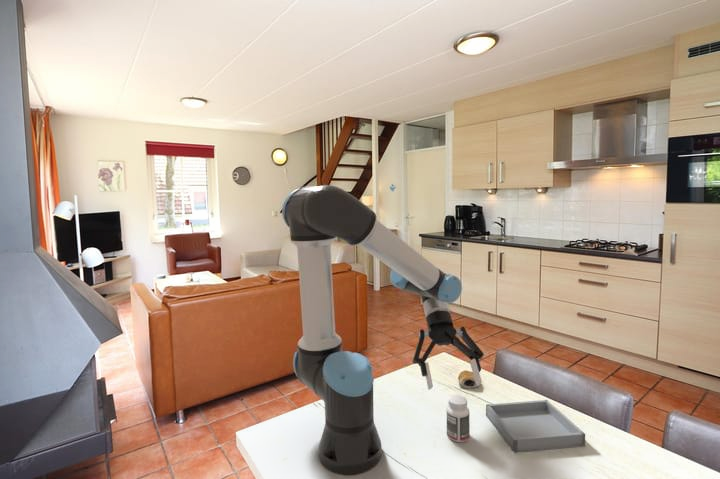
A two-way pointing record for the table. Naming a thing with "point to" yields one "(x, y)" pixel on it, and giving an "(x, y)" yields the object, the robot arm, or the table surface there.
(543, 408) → the tray
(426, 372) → the robot arm
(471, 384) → the pastry
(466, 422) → the pill bottle
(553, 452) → the table surface
